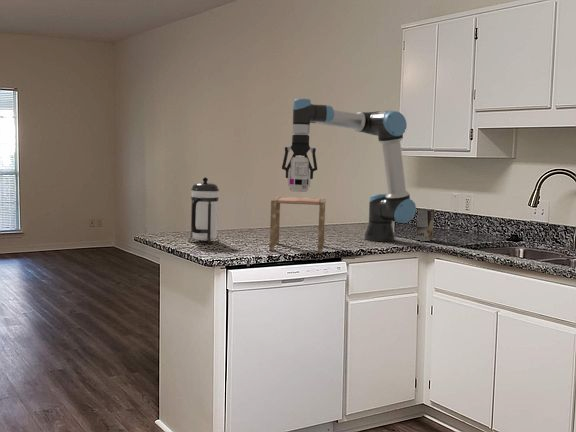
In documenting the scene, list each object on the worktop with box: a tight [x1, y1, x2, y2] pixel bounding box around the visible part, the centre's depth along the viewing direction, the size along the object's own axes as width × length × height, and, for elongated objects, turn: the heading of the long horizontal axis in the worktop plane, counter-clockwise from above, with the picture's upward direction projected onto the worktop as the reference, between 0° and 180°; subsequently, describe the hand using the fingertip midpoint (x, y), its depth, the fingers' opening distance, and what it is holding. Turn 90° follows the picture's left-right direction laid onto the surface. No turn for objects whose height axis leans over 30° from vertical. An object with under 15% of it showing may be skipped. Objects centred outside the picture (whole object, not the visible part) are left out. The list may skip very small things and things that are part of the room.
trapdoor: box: [277, 196, 320, 206], centre depth 310 cm, size 18×18×2 cm
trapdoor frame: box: [269, 196, 326, 254], centre depth 311 cm, size 23×23×22 cm
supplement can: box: [289, 156, 310, 193], centre depth 304 cm, size 8×8×15 cm
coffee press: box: [187, 176, 220, 245], centre depth 318 cm, size 17×16×30 cm
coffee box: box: [415, 208, 435, 242], centre depth 351 cm, size 9×6×16 cm
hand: (299, 186), depth 305 cm, fingers closed on supplement can, 8 cm apart
